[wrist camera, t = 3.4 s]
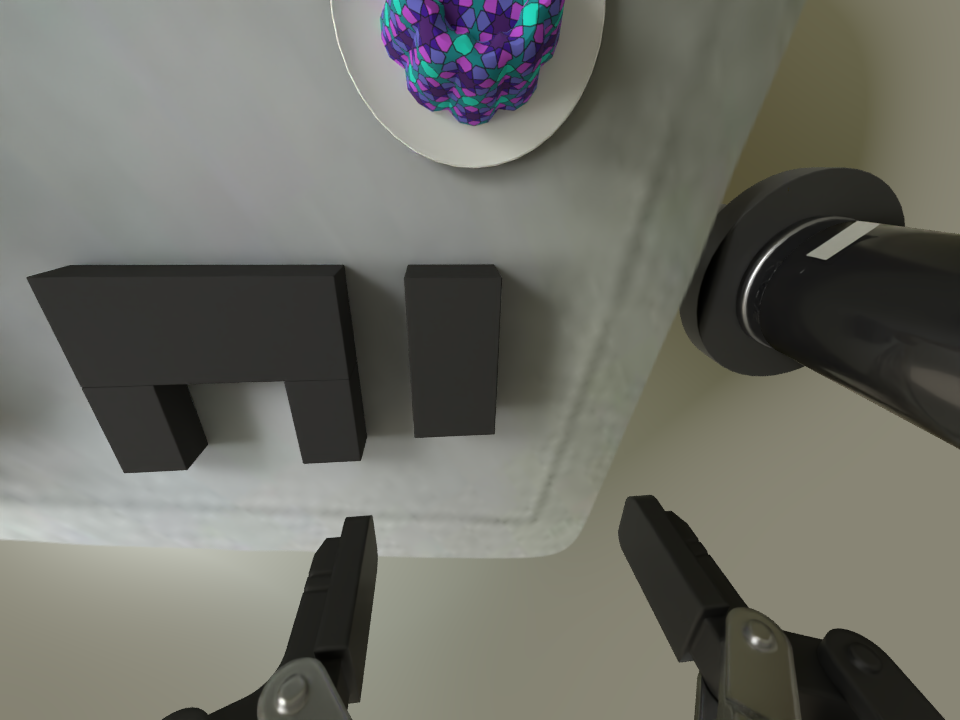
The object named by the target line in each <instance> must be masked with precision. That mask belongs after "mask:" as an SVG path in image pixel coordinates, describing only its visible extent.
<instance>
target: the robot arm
mask: <svg viewBox="0 0 960 720" xmlns="http://www.w3.org/2000/svg"><path fill="white" fill-rule="evenodd" d="M736 314H737V318H738V322H739V324H740V326H741V328H742V329H743V331H744V332H745V333H746V334H747V335H748V336H749V337H750V338H752V339H754V340H755V341H757V342H759V343H761V344H763V345H765V346H767V347H770V348H773V349H775V350H777V351H779V352H781V353H783V354H784V355H786V356H788V357H790V358H792V359H794V360H795V361H797V362H799V363H800V364H802V365H804V366H806V367H808V368H810V369H812V370H813V371H815V372H817V373H819V374H821V375H823V376H825V377H827V378H828V379H830V380H832V381H834V382H836V383H838V384H839V385H841V386H843V387H845V388H847V389H849V390H851V391H853V392H854V393H856V394H858V395H860V396H862V397H864V398H866V399H867V400H869V401H871V402H873V403H875V404H877V405H878V406H880V407H882V408H884V409H886V410H888V411H890V412H892V413H893V414H895V415H897V416H899V417H901V418H903V419H904V420H906V421H908V422H910V423H912V424H914V425H916V426H917V427H919V428H921V429H923V430H925V431H927V432H929V433H930V434H932V435H934V436H936V437H938V438H940V439H942V440H944V441H946V442H947V443H949V444H951V445H953V446H955V447H956V448H958V449H960V234H955V233H946V232H940V231H932V230H924V229H917V228H909V227H901V226H895V225H888V224H880V223H873V222H865V221H857V220H855V219H852V218H847V217H839V216H829V215H824V216H815V217H811V218H807V219H804V220H801V221H799V222H797V223H794V224H792V225H791V226H789V227H787V228H785V229H784V230H782V231H781V232H779V233H778V234H777V235H775V236H774V237H773V238H772V239H771V240H769V241H768V242H767V243H766V244H765V245H764V246H763V247H762V248H761V249H760V251H759V252H758V253H757V254H756V255H755V257H754V258H753V259H752V261H751V262H750V264H749V265H748V267H747V269H746V271H745V273H744V275H743V277H742V279H741V282H740V285H739V288H738V291H737V297H736ZM618 536H619V542H620V546H621V548H622V551H623V553H624V555H625V557H626V559H627V561H628V563H629V564H630V567H631V568H632V571H633V572H634V575H635V577H636V579H637V580H638V582H639V584H640V586H641V588H642V590H643V592H644V594H645V596H646V598H647V600H648V602H649V604H650V606H651V608H652V610H653V612H654V614H655V616H656V618H657V620H658V622H659V624H660V626H661V628H662V630H663V632H664V634H665V636H666V638H667V640H668V642H669V644H670V646H671V647H672V650H673V652H674V654H675V656H676V657H677V660H678V661H679V662H687V661H694V662H695V663H696V665H697V667H698V669H699V674H698V677H697V689H696V703H695V704H696V705H695V716H694V720H945V719H944V718H943V717H942V716H941V714H940V713H939V712H938V711H937V710H936V709H935V708H934V706H933V705H932V704H931V703H930V702H929V701H928V700H927V699H926V698H925V696H924V695H923V694H922V693H921V692H920V691H919V690H918V689H917V687H916V686H915V685H914V684H913V683H912V682H911V681H910V679H909V678H908V677H907V676H906V675H905V674H904V673H903V672H902V670H901V669H900V668H899V667H898V666H897V665H896V664H895V663H894V662H893V660H892V659H891V658H890V657H889V656H888V655H887V654H886V653H885V652H884V651H883V650H882V649H881V648H879V647H878V646H877V645H876V644H874V643H873V642H871V641H870V640H868V639H867V638H865V637H863V636H862V635H860V634H857V633H855V632H853V631H849V630H845V629H832V630H830V631H829V632H828V633H827V634H826V636H825V637H824V639H823V640H822V639H818V638H813V637H809V636H804V635H800V634H796V633H791V632H787V631H784V630H782V629H781V628H780V627H779V626H778V625H777V624H776V623H775V622H774V621H773V620H771V619H770V618H769V617H767V616H766V615H764V614H762V613H760V612H759V611H756V610H754V609H751V608H749V607H748V606H747V605H746V604H745V602H744V601H743V600H742V598H741V597H740V596H739V594H738V593H737V591H736V590H735V589H734V587H733V586H732V585H731V583H730V582H729V580H728V579H727V578H726V576H725V575H724V574H723V573H722V571H721V569H720V568H719V567H718V565H717V564H716V563H715V561H714V560H713V558H712V557H711V556H710V555H708V553H707V550H706V549H705V547H704V546H703V545H702V543H701V542H699V541H698V538H697V537H696V535H695V534H694V532H693V531H692V530H691V528H690V527H689V525H688V524H687V523H686V522H684V521H683V520H682V519H680V517H678V516H677V515H676V514H675V513H673V512H672V511H664V509H663V507H662V506H661V505H660V503H659V502H658V500H657V499H656V498H655V497H654V496H652V495H643V496H630V497H628V498H627V499H626V502H625V506H624V510H623V514H622V518H621V521H620V525H619V530H618ZM377 562H378V554H377V544H376V537H375V530H374V522H373V517H372V515H369V516H356V517H346V519H345V521H344V525H343V529H342V534H341V537H335V538H326V540H325V541H324V542H323V544H322V545H321V546H320V548H319V549H318V550H317V552H316V553H315V555H314V558H313V561H312V564H311V568H310V571H309V577H308V578H307V581H306V584H305V588H304V593H303V595H302V598H301V601H300V605H299V608H298V612H297V615H296V618H295V622H294V625H293V628H292V632H291V635H290V639H289V642H288V646H287V649H286V652H285V655H284V657H283V660H282V662H281V664H280V665H279V667H278V668H277V670H276V671H275V673H274V674H273V675H272V676H271V677H270V679H269V680H268V681H267V682H266V683H265V684H264V685H263V686H262V687H260V688H259V689H258V690H256V691H255V692H254V693H252V694H250V695H249V696H247V697H245V698H243V699H241V700H238V701H236V702H234V703H232V704H230V705H228V706H226V707H224V708H221V709H219V710H217V711H215V712H213V713H211V714H209V715H208V714H207V713H206V712H205V711H203V710H202V709H199V708H193V707H192V708H185V709H181V710H179V711H176V712H174V713H172V714H170V715H168V716H167V717H165V718H164V719H162V720H352V718H351V716H350V715H349V713H348V711H347V709H348V704H350V703H357V702H360V698H361V691H362V683H363V675H364V667H365V660H366V652H367V644H368V636H369V629H370V621H371V613H372V605H373V598H374V590H375V582H376V574H377Z"/></svg>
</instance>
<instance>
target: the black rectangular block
mask: <svg viewBox="0 0 960 720" xmlns="http://www.w3.org/2000/svg"><path fill="white" fill-rule="evenodd" d="M404 286H405V301H406V316H407V331H408V346H409V361H410V377H411V392H412V407H413V422H414V437H415V438H424V437H445V436H467V435H488V434H495V416H496V395H497V374H498V353H499V331H500V310H501V289H502V277H501V275H500V274H499V272H498V270H497V269H496V267H495V266H494V265H408V266H407V270H406V273H405V277H404Z"/></svg>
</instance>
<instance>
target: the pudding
mask: <svg viewBox="0 0 960 720" xmlns="http://www.w3.org/2000/svg"><path fill="white" fill-rule="evenodd" d="M605 1H606V0H330V2H331V14H332V19H333V24H334V28H335V33H336V37H337V42H338V46H339V49H340V51H341V54H342V57H343V60H344V62H345V65H346V68H347V71H348V73H349V75H350V77H351V79H352V81H353V83H354V85H355V86H356V88H357V90H358V92H359V94H360V96H361V98H362V99H363V101H364V102H365V103H366V105H367V106H368V107H369V109H370V110H371V112H372V113H373V114H374V116H375V117H376V118H377V120H378V121H379V122H380V123H381V124H382V125H383V126H384V127H385V128H386V129H387V130H388V131H389V132H390V133H391V134H392V135H393V136H394V137H395V138H396V139H398V140H399V141H401V142H402V143H403V144H405V145H406V146H408V147H409V148H410V149H412V150H413V151H415V152H417V153H419V154H421V155H423V156H425V157H427V158H429V159H431V160H433V161H436V162H439V163H443V164H447V165H450V166H454V167H465V168H482V167H491V166H497V165H500V164H503V163H506V162H510V161H513V160H516V159H518V158H519V157H521V156H523V155H525V154H527V153H529V152H530V151H532V150H534V149H535V148H537V147H538V146H539V145H540V144H542V143H543V142H544V141H545V140H547V139H548V138H549V137H550V136H552V135H553V134H554V132H555V131H556V130H557V129H558V128H559V127H560V126H561V125H562V123H563V122H564V121H565V120H566V119H567V118H568V116H569V115H570V113H571V112H572V110H573V109H574V107H575V106H576V104H577V102H578V101H579V99H580V98H581V96H582V94H583V92H584V90H585V87H586V85H587V83H588V81H589V79H590V76H591V74H592V72H593V68H594V65H595V62H596V59H597V55H598V52H599V49H600V45H601V39H602V32H603V26H604V20H605Z"/></svg>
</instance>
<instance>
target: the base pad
mask: <svg viewBox="0 0 960 720" xmlns="http://www.w3.org/2000/svg"><path fill="white" fill-rule="evenodd" d="M27 280H28V282H29V284H30V286H31V288H32V290H33V292H34V294H35V296H36V298H37V300H38V302H39V304H40V306H41V308H42V310H43V312H44V314H45V316H46V318H47V320H48V322H49V324H50V326H51V328H52V330H53V332H54V334H55V336H56V338H57V340H58V342H59V344H60V346H61V348H62V350H63V352H64V354H65V356H66V358H67V360H68V362H69V364H70V366H71V368H72V370H73V372H74V374H75V376H76V378H77V380H78V382H79V384H80V386H81V387H82V390H83V392H84V394H85V396H86V398H87V400H88V402H89V404H90V406H91V408H92V410H93V412H94V414H95V416H96V418H97V420H98V422H99V424H100V426H101V428H102V430H103V432H104V434H105V436H106V438H107V440H108V442H109V444H110V446H111V448H112V450H113V452H114V454H115V456H116V458H117V460H118V462H119V464H120V466H121V468H122V470H123V472H124V473H138V472H157V471H177V470H188V469H189V467H190V466H191V465H192V464H193V462H194V461H195V460H196V459H197V457H198V456H199V455H200V454H201V453H202V451H203V450H204V449H205V448H206V446H207V445H208V443H207V440H206V437H205V434H204V432H203V429H202V426H201V423H200V421H199V418H198V415H197V412H196V409H195V407H194V404H193V401H192V398H191V396H190V393H189V390H188V387H187V385H186V384H209V383H241V382H273V381H285V387H286V391H287V395H288V400H289V404H290V408H291V413H292V417H293V421H294V426H295V430H296V434H297V439H298V443H299V447H300V452H301V456H302V460H303V463H304V464H309V463H328V462H347V461H361V459H362V455H363V451H364V447H365V443H366V439H367V433H366V426H365V418H364V411H363V403H362V396H361V388H360V380H359V373H358V365H357V357H356V350H355V342H354V335H353V327H352V320H351V312H350V305H349V297H348V290H347V282H346V274H345V267H344V265H69V266H66V267H62V268H58V269H55V270H51V271H47V272H44V273H40V274H36V275H32V276H29V277H27Z"/></svg>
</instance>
